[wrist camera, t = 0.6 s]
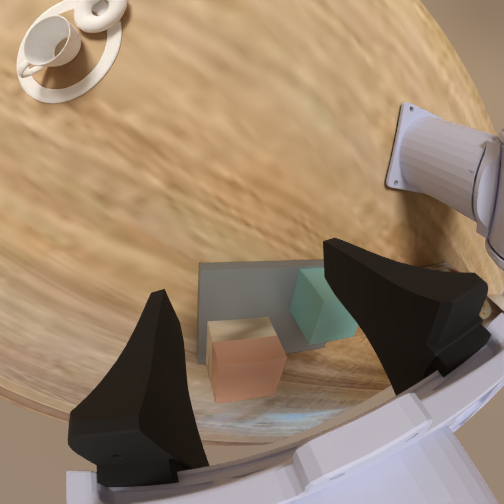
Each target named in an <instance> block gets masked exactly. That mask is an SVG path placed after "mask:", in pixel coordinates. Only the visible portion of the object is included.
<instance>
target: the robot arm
mask: <svg viewBox="0 0 504 504" xmlns="http://www.w3.org/2000/svg"><path fill="white" fill-rule="evenodd" d="M410 108H411V110H410ZM394 182H395V184H394ZM386 185H387V186H389V187H391V188H397V189H402V190H408V191H413V192H419V193H424V194H428V195H429V196H431V197H433V198H435V199H437V200H439V201H440V202H442V203H444V204H446V205H448V206H449V207H451V208H453V209H455V210H456V211H458V212H460V213H462V214H463V215H465V216H467V217H468V218H470V219H472V220H473V221H475V222H476V223H477V230H476V232H477V233H479V234H480V235H482V236H483V237H485V238H486V240H485V246H486V250H487V252H488V254H489V256H490V257H491V258H492V260H493V261H494V262H495V263H496V264H497V266H498V267H500V268H501V269H502V270H503V271H504V129H501V130H500V132H499V137H498V136H495V135H492V134H489V133H486V132H483V131H480V130H477V129H474V128H470V127H467V126H464V125H460V124H456V123H453V122H449V121H446V120H444V119H442V118H440V117H438V116H436V115H434V114H432V113H430V112H428V111H426V110H424V109H422V108H419V107H417V106H415V105H413V104H411V103H409V102H403V103H402V106H401V112H400V117H399V123H398V128H397V133H396V138H395V143H394V148H393V153H392V157H391V162H390V166H389V170H388V174H387V179H386ZM323 251H324V277H325V279H326V281H327V283H328V284H329V286H330V288H331V290H332V291H333V293H334V294H335V296H336V297H337V298H338V300H339V301H340V302H341V303H342V305H343V306H344V307H345V309H346V310H347V311H348V312H349V314H350V315H351V316H352V317H353V319H354V320H355V321H356V322H357V324H358V325H359V326H360V328H361V329H362V331H363V332H364V333H365V335H366V337H367V338H368V340H369V342H370V344H371V345H372V347H373V349H374V350H375V352H376V354H377V356H378V358H379V360H380V362H381V363H382V366H383V368H384V370H385V372H386V374H387V376H388V378H389V380H390V382H391V385H392V387H393V389H394V392H395V394H396V396H395V397H393V398H392V399H390V400H388V401H386V402H384V403H383V404H381V405H379V406H377V407H375V408H373V409H371V410H369V411H367V412H365V413H363V414H361V415H359V416H357V417H355V418H353V419H351V420H348V421H346V422H344V423H342V424H339V425H337V426H335V427H333V428H330V429H328V430H325V431H323V432H321V433H318V434H316V435H313V436H311V437H308V438H305V439H303V440H300V441H297V442H294V443H292V444H289V445H286V446H283V447H280V448H277V449H273V450H270V451H267V452H264V453H261V454H257V455H253V456H250V457H246V458H242V459H238V460H235V461H230V462H226V463H222V464H217V465H212V466H209V463H208V460H207V457H206V455H205V452H204V449H203V445H202V442H201V439H200V436H199V432H198V429H197V425H196V421H195V418H194V414H193V410H192V405H191V401H190V397H189V391H188V385H187V374H186V363H185V351H184V341H183V336H182V331H181V326H180V322H179V320H178V318H177V315H176V313H175V311H174V309H173V307H172V305H171V302H170V300H169V298H168V296H167V294H166V291H165V289H163V290H159V291H156V292H152V293H151V294H150V296H149V299H148V301H147V303H146V305H145V308H144V310H143V312H142V315H141V317H140V319H139V321H138V323H137V325H136V328H135V330H134V332H133V334H132V335H131V337H130V339H129V341H128V343H127V345H126V347H125V348H124V350H123V352H122V353H121V355H120V356H119V358H118V359H117V361H116V362H115V364H114V365H113V367H112V368H111V369H110V370H109V372H108V373H107V374H106V376H105V377H104V378H103V380H102V381H101V382H100V383H99V384H98V385H97V387H96V388H95V389H94V390H93V391H92V392H91V393H90V394H89V395H88V396H87V397H86V398H85V399H84V400H83V401H82V402H81V403H80V404H79V405H78V406H77V407H76V408H74V409H73V410H72V411H71V412H70V420H69V430H68V445H69V446H70V448H71V449H72V450H73V451H74V452H76V453H77V454H79V455H80V456H82V457H83V458H85V459H87V460H88V461H90V462H92V463H94V464H95V465H97V472H93V471H84V470H83V471H82V470H67V471H66V494H67V504H498V502H497V501H496V499H495V497H494V496H493V494H492V492H491V491H490V489H489V487H488V486H487V484H486V483H485V481H484V479H483V478H482V476H481V474H480V473H479V471H478V470H477V468H476V467H475V465H474V464H473V462H472V461H471V459H470V457H469V456H468V454H467V453H466V451H465V450H464V448H463V447H462V445H461V444H460V443H459V441H458V439H457V438H456V437H455V435H454V434H453V432H454V431H455V430H457V429H458V428H459V427H460V426H462V425H463V424H464V423H465V422H466V421H467V420H469V419H470V418H471V417H472V416H473V415H474V414H475V413H476V412H477V411H478V410H480V409H481V408H482V407H483V406H484V405H485V404H486V403H487V402H488V401H489V400H490V399H491V398H492V397H493V396H494V395H495V394H496V393H497V392H498V391H499V390H500V389H501V388H502V387H503V386H504V314H503V313H500V314H499V315H498V316H497V317H496V318H494V319H493V320H492V321H491V322H490V323H489V324H488V325H487V327H486V328H485V327H484V326H483V325H482V323H483V319H482V318H481V317H480V316H479V314H480V311H481V309H482V307H483V304H484V302H485V299H486V296H487V293H488V285H487V283H486V282H485V281H484V280H483V279H481V278H480V277H479V276H478V275H477V274H475V273H462V272H446V271H437V270H431V269H425V268H420V267H415V266H411V265H408V264H404V263H400V262H397V261H394V260H391V259H388V258H385V257H382V256H380V255H377V254H374V253H372V252H369V251H367V250H365V249H362V248H360V247H357V246H355V245H353V244H350V243H348V242H345V241H343V240H340V239H337V238H332V239H329V240H326V241H323Z"/></svg>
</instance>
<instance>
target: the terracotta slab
mask: <svg viewBox="0 0 504 504" xmlns="http://www.w3.org/2000/svg"><path fill="white" fill-rule="evenodd" d="M286 360H287V355H286V353H285V351H284V349H283V347H282V345H281V342H280V340H279V338H278V336H270V337H261V338H252V339H242V340H232V341H220V342H212V359H211V379H210V382H211V387H212V391H213V395H214V399H215V403H224V402H232V401H239V400H246V399H253V398H259V397H265V396H271V395H275V393H276V390H277V387H278V384H279V381H280V378H281V375H282V372H283V369H284V366H285V363H286Z"/></svg>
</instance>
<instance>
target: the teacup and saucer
mask: <svg viewBox="0 0 504 504" xmlns="http://www.w3.org/2000/svg"><path fill="white" fill-rule="evenodd" d="M106 1H108V3H109V4H108V3H107V2H105V1H104V0H64V1H62V2H60V3H58V4H56V5H54V6H53V7H51V8H50V9H48V10H47V11H45V12H44V13H43V14H42V15H41V16H40V17H39V18H38V19H37V20H36V21H35V22H34V23H33V24H32V26H31V27H30V28H29V30H28V31H27V33H26V35H25V37H24V39H23V41H22V43H21V46H20V49H19V52H18V57H17V74H18V78H19V81H20V84H21V86H22V87H23V89H24V90H25V92H26V93H27V94H28V95H29V96H31V97H32V98H34V99H36V100H38V101H40V102H44V103H62V102H66V101H69V100H72V99H75V98H77V97H79V96H81V95H82V94H84V93H86V92H87V91H89V90H90V89H91V88H93V87H94V86H95V85H96V84H97V83H98V82H99V81H100V80H101V79H102V78H103V77H104V76H105V74H106V73H107V72H108V70H109V69H110V67H111V66H112V64H113V62H114V60H115V58H116V56H117V54H118V51H119V48H120V44H121V38H122V27H121V22H120V18H121V17H122V16H123V14H124V12H125V10H126V7H127V0H106ZM71 9H75V10H74V21H75V23H76V25H77V26H78V28H80V29H81V30H82V31H84V32H87V33H98V32H102V31H104V30H106V29H107V44H106V48H105V51H104V53H103V55H102V57H101V59H100V61H99V63H98V64H97V65H96V67H95V68H94V69H93V70H92V71H91V73H90V74H88V75H87V76H86V77H85V78H84V79H82V80H81V81H80V82H78V83H76V84H74V85H72V86H70V87H67V88H63V89H48V88H44V87H42V86H40V85H39V84H38V83H36V82H35V80H34V79H33V78H32V76H31V75H33V74H35V73H37V72H39V71H40V70H42V69H43V68H45V67H54V66H61V65H64V64H66V63H68V62H70V61H71V60H73V59H74V58H75V57H76V55H77V54H78V52H79V50H80V47H81V37H80V35H79V33H78V31H77V30H76V28H75V27H74V26H73V25H72V24H71V23H70V22H69V21H68V20H67V19H65V18H64V17H62V16H58V14H60V13H62V12H65V11H68V10H71ZM92 11H93V12H95V13H97V14H98V15H99V16H94V15H93V13H92ZM65 38H68V40H67V42H66V44H65V46H64V48H63V49H62V51H61V52H60V53H59V54H58V55H57V56H56V57H55V54H54V51H55V48H56V46H57V44H58V43H59V42H60V41H61V40H63V39H65ZM31 64H32V65H35V67H33V68H31V69H29V66H30V65H31Z"/></svg>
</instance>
